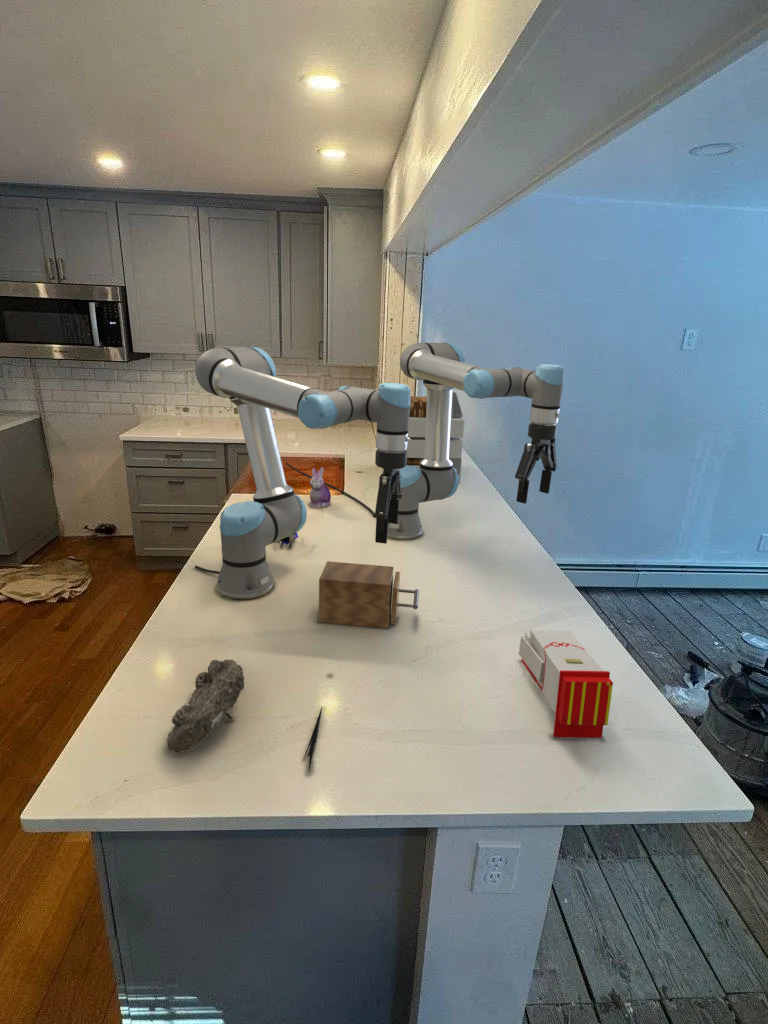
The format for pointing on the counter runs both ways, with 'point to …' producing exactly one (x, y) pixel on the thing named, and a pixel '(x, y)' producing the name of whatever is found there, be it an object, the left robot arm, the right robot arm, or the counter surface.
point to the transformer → (419, 427)
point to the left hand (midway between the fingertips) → (386, 532)
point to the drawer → (396, 598)
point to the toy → (568, 682)
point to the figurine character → (288, 540)
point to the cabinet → (356, 594)
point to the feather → (313, 740)
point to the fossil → (206, 705)
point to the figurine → (319, 490)
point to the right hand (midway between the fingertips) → (532, 497)
